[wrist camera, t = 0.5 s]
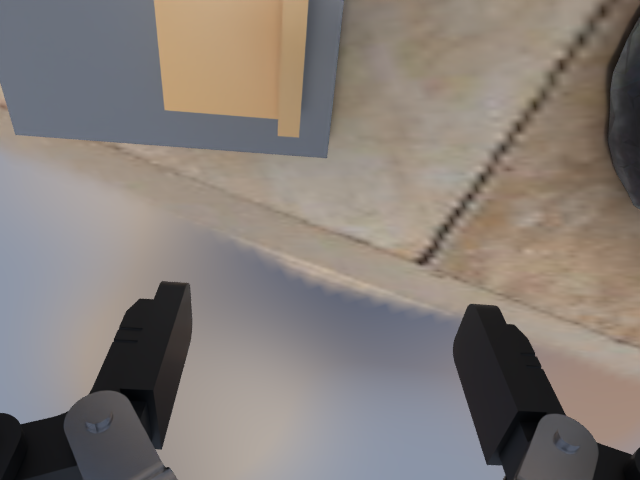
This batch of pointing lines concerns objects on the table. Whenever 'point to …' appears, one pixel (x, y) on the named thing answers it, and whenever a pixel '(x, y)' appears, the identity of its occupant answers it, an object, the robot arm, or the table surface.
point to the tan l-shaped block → (234, 58)
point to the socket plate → (141, 79)
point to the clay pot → (627, 116)
